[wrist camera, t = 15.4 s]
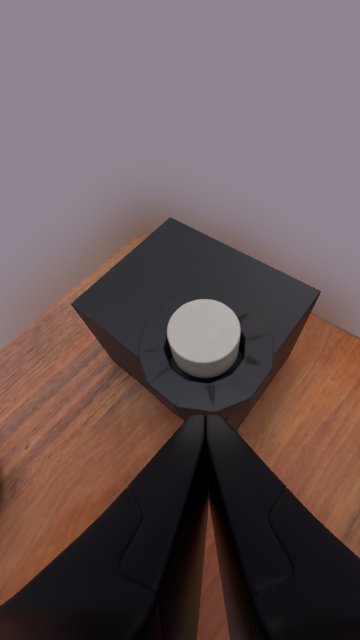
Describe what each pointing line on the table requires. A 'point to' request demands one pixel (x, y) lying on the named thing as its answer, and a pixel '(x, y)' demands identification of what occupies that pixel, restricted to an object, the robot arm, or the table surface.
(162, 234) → the push button box
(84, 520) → the table surface
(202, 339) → the light grey push button
